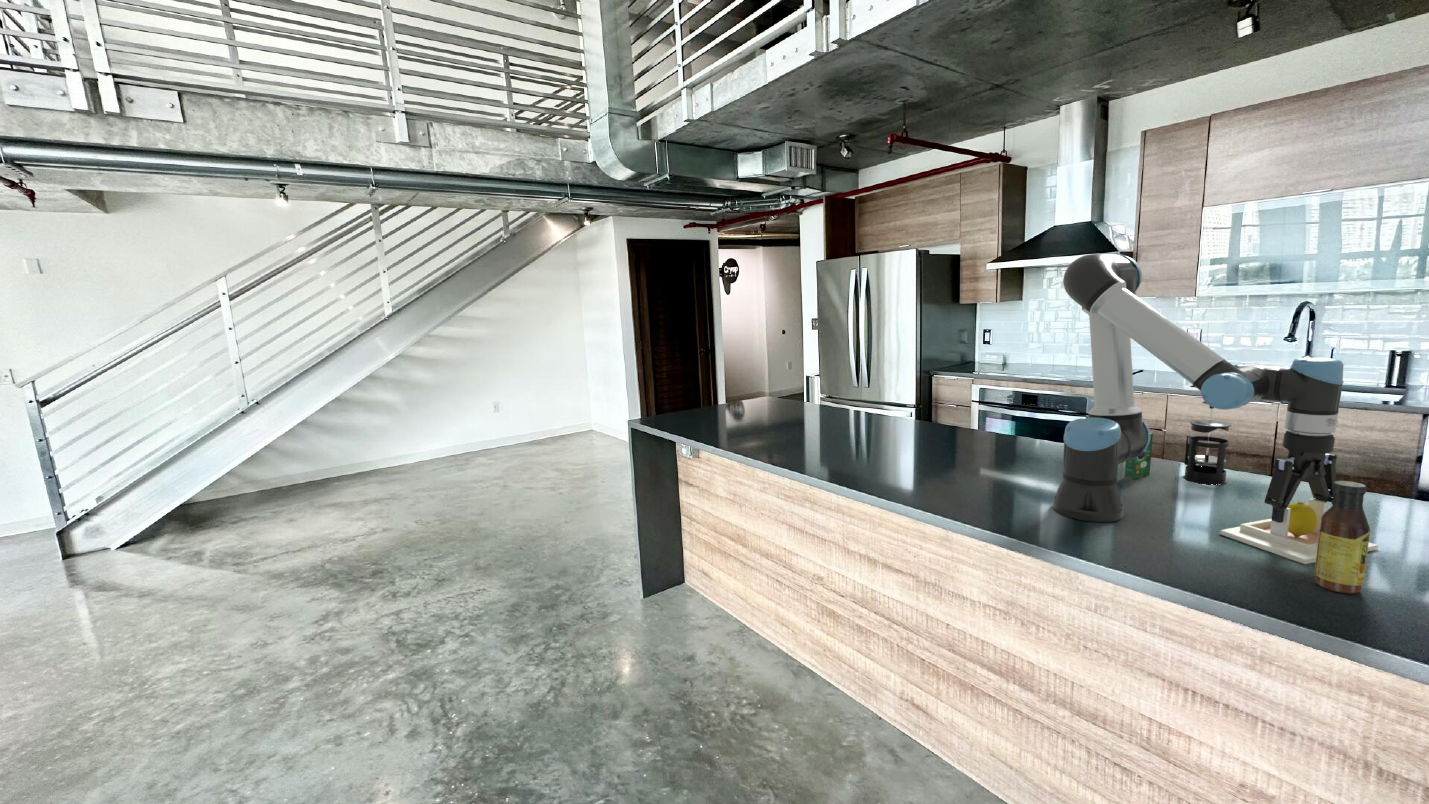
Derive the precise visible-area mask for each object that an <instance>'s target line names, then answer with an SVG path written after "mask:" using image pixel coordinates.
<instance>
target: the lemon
mask: <svg viewBox="0 0 1429 804" xmlns="http://www.w3.org/2000/svg"><path fill="white" fill-rule="evenodd" d="M1308 505H1309V504H1306V503H1305V502H1303V501H1297V502H1292V503H1289V505H1288V507H1287V508H1290V509H1291V512H1290V519H1289V527H1288V532H1290V533H1292V534H1293V535H1294V536H1295V537H1299V536H1301V535H1307V534H1309V533H1311V532H1312V531H1313V530H1314V529H1315V527H1316V525H1317V516H1316V513H1315V511H1314V510H1313V509H1312V508H1311V507H1310V506H1308Z"/></svg>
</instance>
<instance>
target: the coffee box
mask: <svg viewBox="0 0 1429 804" xmlns="http://www.w3.org/2000/svg"><path fill="white" fill-rule="evenodd" d="M1150 435H1151V437H1150V443H1149V445H1148V447H1147V448H1146V450H1145V451H1144V452H1142V453H1141V454H1140V455H1139V456H1138V457H1136V458H1134V459H1132V460H1128V461H1125V466H1124V476H1123V477H1124V478H1126V479H1129V480H1136V479H1139V478H1140V479H1141V478H1143V477H1148V476H1150V473H1151V472H1150V471H1151V460H1152V459H1151V458H1152V449H1153V448H1152V447H1153V440H1154V439H1153V438H1154V437H1153V436H1154V433H1153V432H1150Z"/></svg>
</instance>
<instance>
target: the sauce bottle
mask: <svg viewBox="0 0 1429 804" xmlns="http://www.w3.org/2000/svg"><path fill="white" fill-rule="evenodd" d="M1333 491H1334V494H1333V497H1332V498H1333V501H1332V503H1331V505H1332V506H1331V507H1330V508H1328V509H1326V512H1325V513H1324V514H1323V516H1322V518H1321V527H1320V530H1319V537H1318V546H1317V555H1316V562H1315V565H1314V581H1315V583H1316V584H1317V585H1318V586H1319V587H1321V588H1323V589H1326V590H1328V591H1332V592H1335V593H1336V592H1337V593H1342V594H1347V595H1348V594H1349V595H1351V594H1358V593H1360V592H1361V590H1362V585H1364V582H1365V575H1366V574H1365V572H1366V565H1367V561H1368V559H1367V558H1368V553H1369V551H1368V544H1369V543H1370V535H1371V527H1370V525H1369V522H1368V520H1367V516H1366V512H1365V511H1364V506H1363V503H1364V499H1365V498H1364V497H1365V494H1366V493H1367V486H1366V484H1364V483H1359V482H1355V481H1347V480H1336V481H1335V482H1334V483H1333Z"/></svg>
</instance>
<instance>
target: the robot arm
mask: <svg viewBox="0 0 1429 804" xmlns="http://www.w3.org/2000/svg"><path fill="white" fill-rule="evenodd" d="M1142 280H1143V272H1142V268H1141V267H1140V265H1139V263H1138V262H1137V261H1136V260H1134V259H1133V258H1132V257H1129V256H1127V255H1125V254H1119V253H1115V252H1114V253H1101V254H1100V253H1098V254H1097V253H1096V254H1095V253H1091V254H1086V255H1083V256H1080V257H1078V258H1077V259H1075V260H1074V261H1071V263H1070V264H1069V265H1068V266H1067V269H1066V270H1065V272H1064V274H1063V279H1062V283H1063V288H1064V290H1065V293H1066V294H1067V295H1068V297H1069V298H1071V300H1073V301H1074V302H1075V303H1077V304H1078V305H1079V306H1081V310H1082V311H1083V312H1084V313H1085V314H1086V315H1088V318H1089V333H1090V335H1089V336H1090V348H1091V350H1090V351H1091V352H1090V353H1091V367H1092V381H1093V382H1092V383H1093V395H1094V396H1093V399H1094V406H1093V407H1091V409H1090V410H1089V411H1088V417H1085V418H1076V419H1073V420H1072V421H1069V422H1068V423H1067V425H1066V426H1065V427H1064V428H1065V429H1064V434H1063V455H1062V457H1063V459H1062V479H1061V481H1060V484H1059V486H1058V489H1057V492H1056V494H1055V495H1054V497H1053V501H1052V502H1053V503H1052V508H1053V509H1054V511H1055V512H1056V513H1058V514H1060V515H1061V516H1064V517H1067V518H1071V519H1075V520H1079V521H1083V522H1084V521H1085V522H1093V523H1109V522H1116V521H1120V520H1121V519H1122V518H1124V509H1125V508H1124V505H1123V503H1122V502H1121V497H1120V492H1119V489H1118V484H1117V481H1118V472H1119V471H1118V470H1119V465H1121V464H1122V463H1124V462H1125V463H1126V461H1128V460H1132V459H1134V458H1136V457H1138V456H1139V455H1140V454H1141V453H1142V452H1144V451H1145V450H1146V448H1147V447H1148V445H1149V443H1150V437H1151V435H1150V433H1151V430H1150V428H1149V426H1148V424H1147V423H1146V422H1145V421H1144V420H1143V411H1142V410H1143V409H1141V407H1138V406H1137V405H1136V403H1135V395H1134V381H1133V379H1134V377H1133V362H1132V361H1133V359H1132V343H1131V341H1132V340H1133V341H1134V342H1136V343H1137V344H1138V345H1140V346H1141V347H1142V348H1143V349H1145V350H1147V352H1149V353H1150V354H1151V355H1153V356H1154V357H1155V358H1156V359H1158V360H1159V361H1161V362H1162V363H1163V364H1164V365H1166V366H1167V367H1168V368H1170V369H1171V370H1172V371H1174V372H1175V373H1176V374H1177V375H1179V376H1180V377H1182V378H1183V379H1184V380H1186V381H1187V382H1188V383H1190V384H1191V385H1192V386H1193V387H1195V388H1196V389H1198V390H1199V391H1200V395H1201V398H1202V400H1203V402H1204V401H1205V402H1206V403H1207V404H1206V405H1208V406H1209V407H1210V406H1211V407H1214V409H1216V410H1217V409H1218V410H1223V411H1224V410H1232V409H1238V408H1239V409H1240V408H1241V407H1244V406H1246V405H1248V404H1249V403H1251V402H1255V401H1257V400H1258V401H1272V402H1273V401H1275V402H1281V403H1282V402H1285V403H1287V406H1286V409H1287V410H1286V415H1285V420H1284V421H1285V423H1284V428H1285V429H1286V430H1285V431H1283V432H1284V433H1283V442H1282V446H1283V448H1284V449H1286V450H1287V451H1288V454H1287V456H1286V459H1280V458H1276V459H1275V460H1274V470H1273V473H1272V476H1271V480H1270V482H1269V486H1268V488H1267V491H1266V496H1265V498H1264V504H1266V505H1269V506H1271V507H1272V511H1271V518H1270V519H1272V521H1271V529H1270V532H1272V533H1275V534H1278V535H1281V536H1284V537H1287V535H1288V527H1289V519H1290V512H1291V509H1290V508H1287V507H1288V505H1289V504H1291V502H1292V500H1293V497H1294V496H1295V493H1296V492H1297V490H1298V488H1299V486H1300V485H1301V482H1304V481H1305V480H1307V483H1308V486H1309V488H1310V491H1311V495H1312V497H1313V498H1309V499H1308V504H1307V505H1308V506H1310V507H1311V508H1312V509H1313V510H1314V511H1315V513H1316V516H1317V525H1316V527H1315V529H1314V530H1317V531H1319V530H1320V527H1321V518H1322V516H1323V514H1324V513H1325V512H1326V511H1327V507H1328V503H1331V504H1332V501H1333V494H1334V491H1333V483H1334V482H1335V481H1337V471H1336V463H1337V457H1338V455H1336V454H1333V451H1334V449H1335V441H1336V436H1335V435H1334V433H1336V430H1337V425H1338V424H1339V420H1338V414H1339V408H1340V405H1341V404H1340V403H1341V396H1342V392H1343V391H1342V389H1343V384H1344V363H1343V362H1342V361H1341V360H1340V359H1337V358H1330V357H1299V358H1295V359H1293V360H1292V364H1291V365H1290V366H1274V365H1273V366H1272V365H1256V364H1245V363H1235V364H1232V363H1231V362H1229V361H1227V360H1226V359H1225V358H1224V357H1222V356H1221V355H1220V354H1219V353H1218V352H1215V351H1214V350H1213V349H1212V348H1210V347H1209V346H1208V345H1206V344H1204V343H1203V342H1201V340H1199V339H1197V338H1196V337H1194V336H1193V335H1192V334H1191V333H1189V332H1187V331H1186V330H1184V328H1182V327H1180V326H1179V325H1178V324H1176V323H1175V322H1174V321H1172V320H1171V319H1169V318H1168V317H1166V316H1165V315H1163V314H1162V313H1161V312H1160V311H1158V310H1157V309H1155V308H1154V307H1153V306H1151V305H1150V304H1148V303H1147V302H1146V301H1144V300H1143V299H1142V298H1140V297H1138V296H1137V292H1136V291H1137V290H1138V289H1139V287H1140V286H1141V284H1142Z"/></svg>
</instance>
